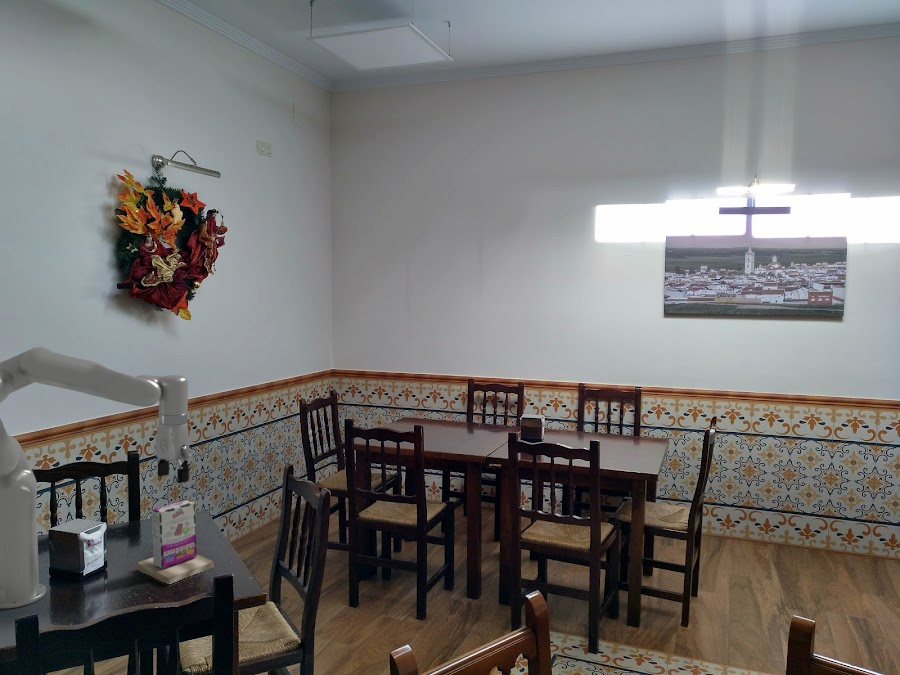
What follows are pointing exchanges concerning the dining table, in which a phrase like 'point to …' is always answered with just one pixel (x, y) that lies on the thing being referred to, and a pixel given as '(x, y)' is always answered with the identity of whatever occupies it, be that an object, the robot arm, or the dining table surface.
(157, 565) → the candy bar box
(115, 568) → the dining table surface
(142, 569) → the pale wooden block
